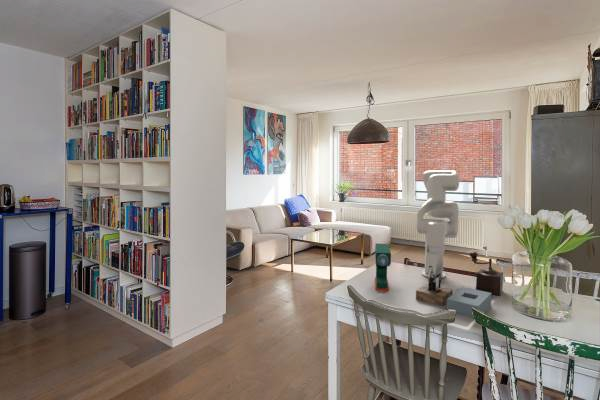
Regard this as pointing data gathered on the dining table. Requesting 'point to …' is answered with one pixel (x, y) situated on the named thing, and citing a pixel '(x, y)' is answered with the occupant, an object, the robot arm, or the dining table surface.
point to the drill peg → (436, 284)
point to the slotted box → (469, 301)
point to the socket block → (433, 295)
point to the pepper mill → (488, 278)
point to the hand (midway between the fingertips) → (434, 288)
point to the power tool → (382, 266)
